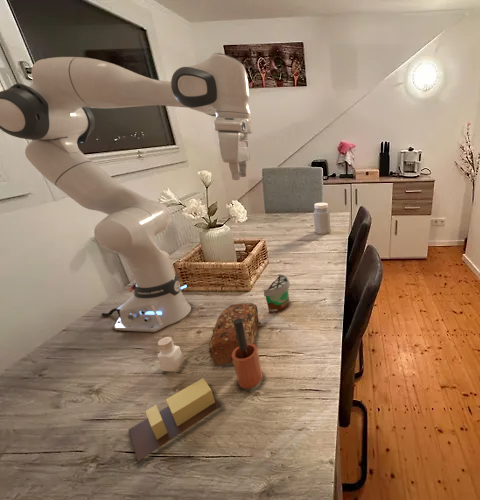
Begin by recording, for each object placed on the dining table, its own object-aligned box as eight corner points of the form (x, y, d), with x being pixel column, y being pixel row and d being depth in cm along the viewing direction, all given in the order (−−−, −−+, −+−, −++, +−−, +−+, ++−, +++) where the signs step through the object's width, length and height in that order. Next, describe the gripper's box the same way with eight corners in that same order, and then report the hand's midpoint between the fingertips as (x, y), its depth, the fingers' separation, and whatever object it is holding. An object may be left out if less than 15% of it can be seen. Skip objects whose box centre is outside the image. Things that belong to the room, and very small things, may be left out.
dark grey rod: (252, 375, 73) (239, 316, 65) (256, 380, 71) (244, 321, 64) (245, 379, 71) (231, 320, 64) (249, 385, 70) (235, 325, 63)
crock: (236, 392, 69) (228, 361, 65) (242, 373, 74) (235, 344, 70) (260, 390, 69) (254, 359, 65) (264, 371, 74) (259, 342, 70)
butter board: (207, 387, 70) (206, 383, 70) (222, 410, 64) (221, 406, 64) (130, 433, 60) (128, 429, 59) (139, 465, 54) (137, 461, 54)
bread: (252, 364, 77) (246, 335, 73) (211, 369, 76) (202, 340, 72) (261, 322, 94) (256, 296, 90) (228, 325, 92) (221, 300, 89)
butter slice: (161, 417, 62) (156, 404, 60) (167, 432, 59) (162, 419, 57) (150, 423, 61) (145, 410, 59) (157, 439, 57) (151, 426, 56)
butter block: (207, 389, 68) (203, 377, 67) (215, 402, 65) (211, 390, 63) (170, 411, 63) (165, 399, 61) (177, 426, 60) (172, 413, 58)
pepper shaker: (172, 362, 78) (162, 335, 74) (186, 362, 78) (176, 335, 74) (162, 374, 74) (152, 346, 71) (177, 374, 74) (167, 346, 71)
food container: (284, 317, 96) (280, 292, 92) (267, 315, 97) (263, 290, 93) (297, 297, 107) (294, 274, 103) (282, 296, 108) (279, 273, 104)
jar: (317, 229, 180) (315, 201, 173) (332, 229, 178) (330, 202, 171) (313, 234, 171) (310, 205, 164) (328, 235, 169) (327, 206, 162)
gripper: (231, 128, 85) (236, 175, 90) (211, 121, 66) (218, 181, 71) (252, 129, 86) (256, 175, 91) (239, 123, 67) (244, 182, 72)
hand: (239, 178), depth 80 cm, fingers open, 8 cm apart
